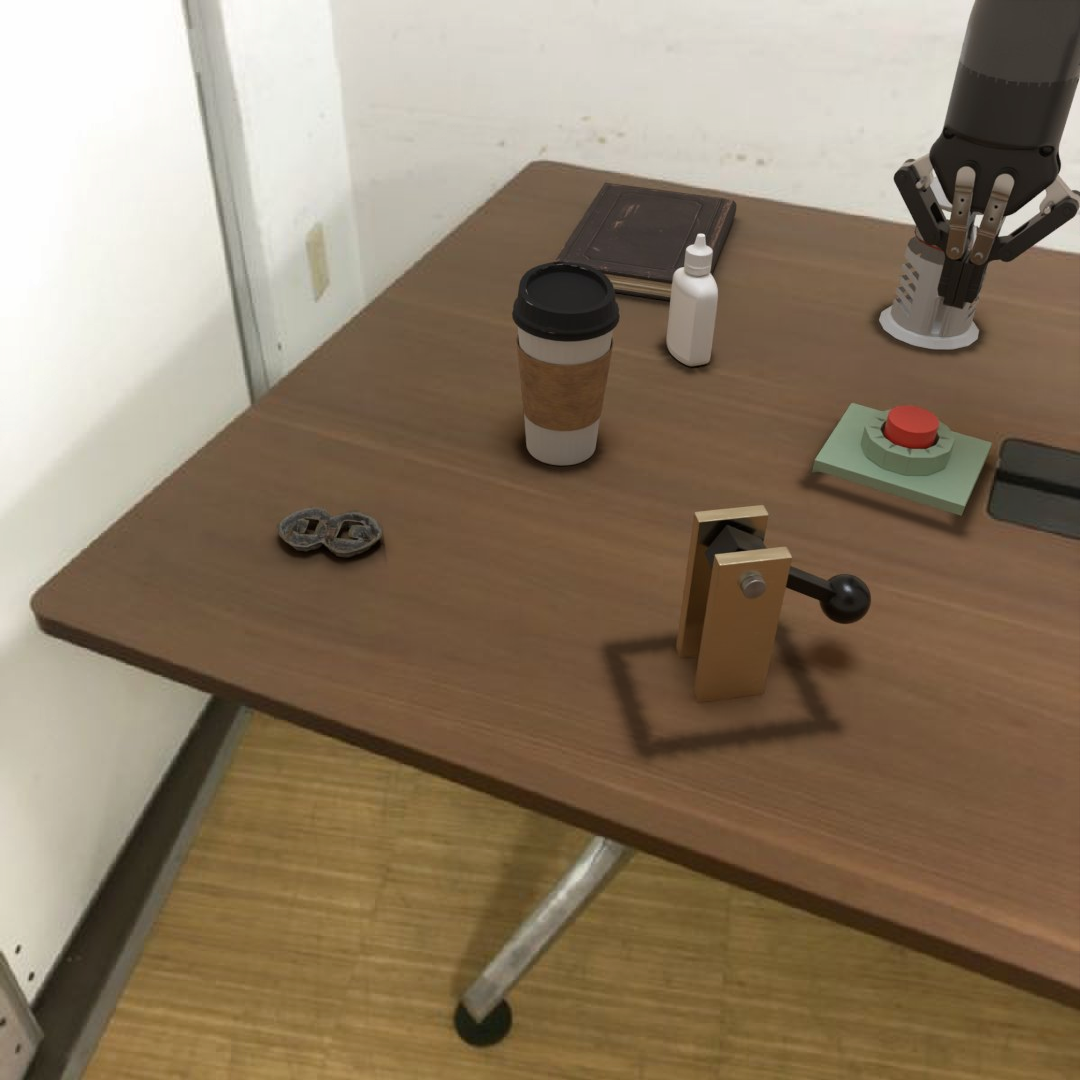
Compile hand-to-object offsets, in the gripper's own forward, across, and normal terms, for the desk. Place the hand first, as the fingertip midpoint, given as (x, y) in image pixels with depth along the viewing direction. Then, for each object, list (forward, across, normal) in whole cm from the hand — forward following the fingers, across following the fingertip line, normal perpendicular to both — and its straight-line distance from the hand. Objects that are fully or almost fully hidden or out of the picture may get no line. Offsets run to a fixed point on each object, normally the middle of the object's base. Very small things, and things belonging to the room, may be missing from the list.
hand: (955, 302), depth 83 cm
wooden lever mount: (+15, -5, -30) cm, 34 cm away
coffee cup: (+16, -27, -12) cm, 33 cm away
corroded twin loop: (+15, -36, -32) cm, 50 cm away
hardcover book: (+16, -37, +28) cm, 49 cm away
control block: (+16, -1, 0) cm, 16 cm away
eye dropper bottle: (+16, -24, +8) cm, 30 cm away
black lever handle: (+8, -2, -28) cm, 30 cm away
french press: (+16, -5, +26) cm, 31 cm away
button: (+12, -1, 0) cm, 12 cm away
